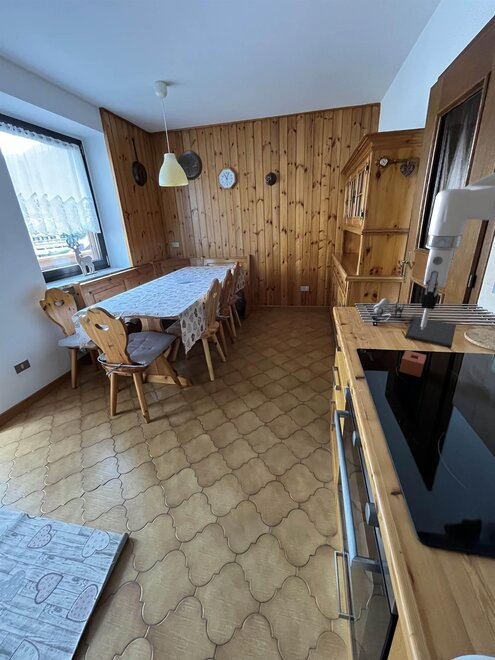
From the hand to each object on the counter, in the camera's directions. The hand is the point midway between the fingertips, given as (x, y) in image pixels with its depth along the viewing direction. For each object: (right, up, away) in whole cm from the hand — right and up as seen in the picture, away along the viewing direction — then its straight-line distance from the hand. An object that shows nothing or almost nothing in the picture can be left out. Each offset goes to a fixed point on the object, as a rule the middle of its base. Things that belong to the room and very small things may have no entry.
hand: (428, 306), depth 82 cm
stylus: (0, -7, +3) cm, 8 cm away
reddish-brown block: (+1, -20, +10) cm, 22 cm away
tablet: (+21, -8, +31) cm, 39 cm away
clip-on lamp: (+10, -1, +47) cm, 48 cm away
